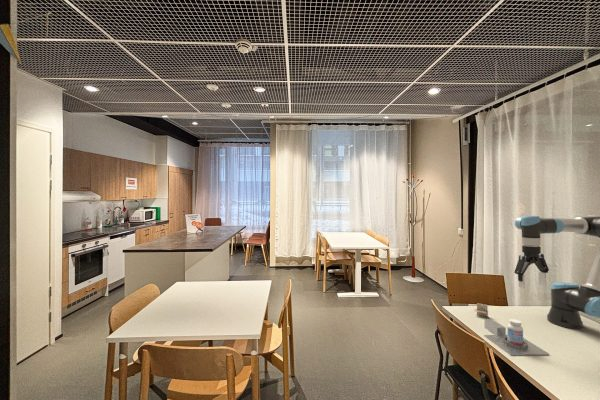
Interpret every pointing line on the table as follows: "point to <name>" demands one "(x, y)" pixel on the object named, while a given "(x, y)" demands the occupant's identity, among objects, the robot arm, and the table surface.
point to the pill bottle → (515, 332)
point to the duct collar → (508, 347)
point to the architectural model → (482, 309)
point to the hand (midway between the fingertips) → (532, 286)
